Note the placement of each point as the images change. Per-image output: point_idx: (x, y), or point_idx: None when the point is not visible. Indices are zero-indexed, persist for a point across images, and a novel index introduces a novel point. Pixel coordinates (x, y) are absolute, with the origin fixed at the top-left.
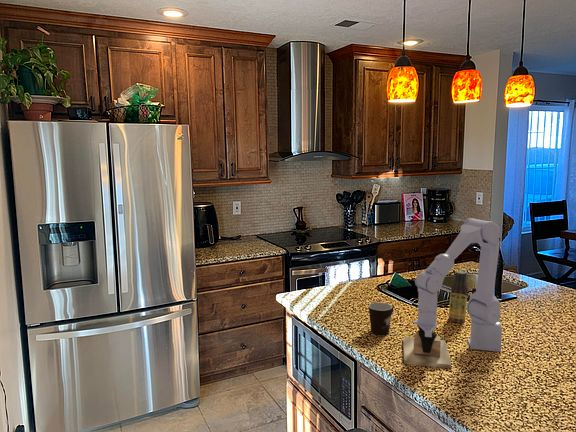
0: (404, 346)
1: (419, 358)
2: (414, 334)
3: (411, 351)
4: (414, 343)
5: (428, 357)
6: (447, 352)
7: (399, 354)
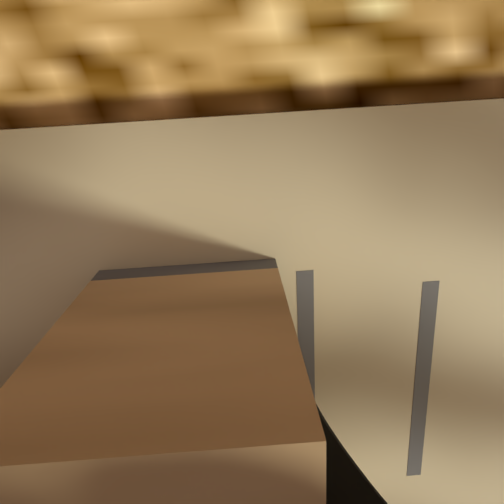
0: (351, 122)
1: (21, 339)
2: (269, 457)
3: (201, 233)
4: (14, 378)
5: None
6: None
7: (169, 54)
